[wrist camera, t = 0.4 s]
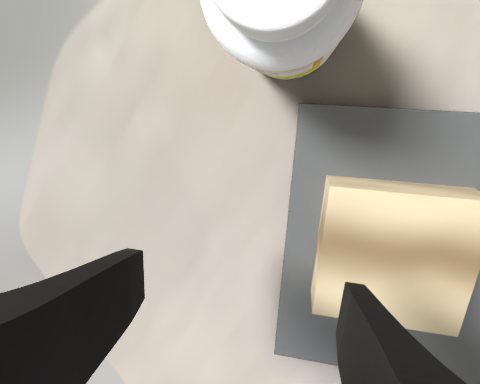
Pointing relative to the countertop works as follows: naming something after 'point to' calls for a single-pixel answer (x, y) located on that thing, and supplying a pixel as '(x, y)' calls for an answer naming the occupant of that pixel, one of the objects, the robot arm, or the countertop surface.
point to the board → (382, 168)
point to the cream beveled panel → (399, 249)
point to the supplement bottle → (280, 32)
